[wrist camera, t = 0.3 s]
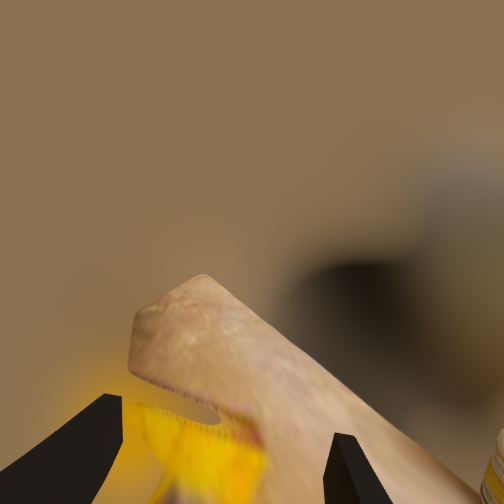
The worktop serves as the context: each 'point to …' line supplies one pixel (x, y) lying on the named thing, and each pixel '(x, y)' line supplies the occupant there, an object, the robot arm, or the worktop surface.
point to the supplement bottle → (494, 475)
